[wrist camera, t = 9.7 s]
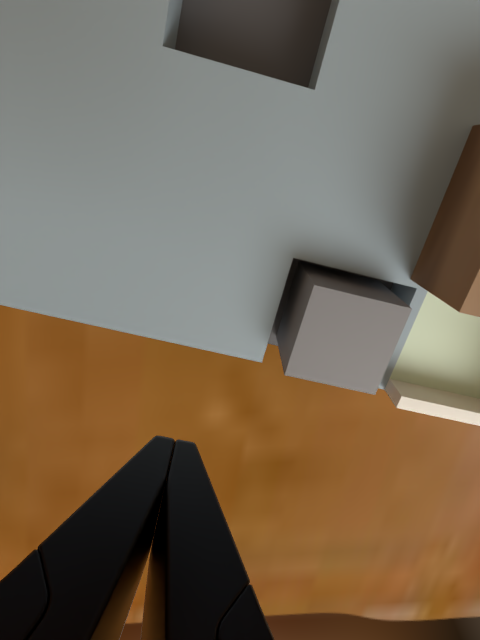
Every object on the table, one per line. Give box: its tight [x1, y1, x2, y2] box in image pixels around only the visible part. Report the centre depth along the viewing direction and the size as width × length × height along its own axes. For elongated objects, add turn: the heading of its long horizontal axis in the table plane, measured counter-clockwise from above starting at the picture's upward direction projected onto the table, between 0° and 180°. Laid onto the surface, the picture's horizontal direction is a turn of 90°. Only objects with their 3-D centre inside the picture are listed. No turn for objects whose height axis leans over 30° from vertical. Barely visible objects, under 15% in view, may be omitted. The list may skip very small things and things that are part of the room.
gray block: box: [276, 261, 412, 395], centre depth 18 cm, size 4×4×4 cm
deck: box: [0, 0, 480, 426], centre depth 15 cm, size 24×16×6 cm, turn 76°
